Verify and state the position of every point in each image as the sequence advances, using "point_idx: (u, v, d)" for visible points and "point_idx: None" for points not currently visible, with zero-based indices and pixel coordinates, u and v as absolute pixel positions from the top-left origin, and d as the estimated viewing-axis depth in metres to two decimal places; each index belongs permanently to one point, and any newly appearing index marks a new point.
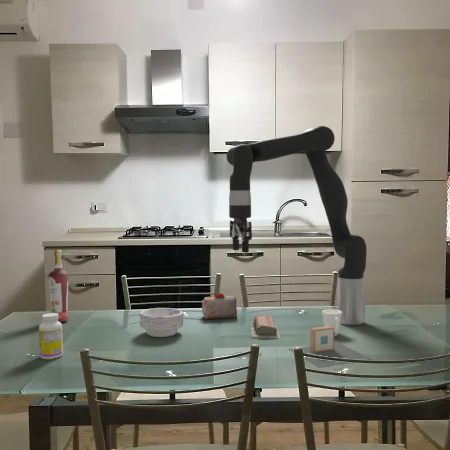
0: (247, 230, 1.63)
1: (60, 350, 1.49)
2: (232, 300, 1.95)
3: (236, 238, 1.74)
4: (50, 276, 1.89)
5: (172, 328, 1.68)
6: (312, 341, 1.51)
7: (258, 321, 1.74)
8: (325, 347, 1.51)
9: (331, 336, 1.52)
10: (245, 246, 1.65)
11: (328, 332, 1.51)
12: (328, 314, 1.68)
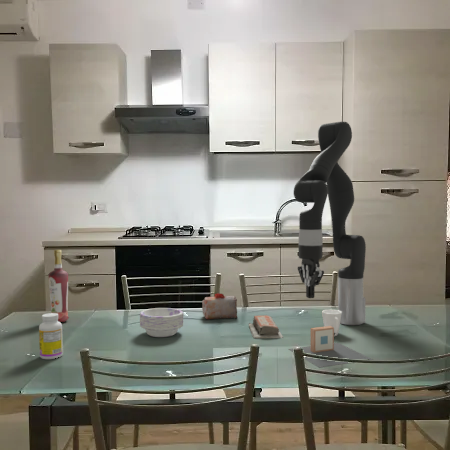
0: (317, 279, 1.53)
1: (60, 350, 1.49)
2: (232, 300, 1.95)
3: None
4: (50, 276, 1.89)
5: (172, 328, 1.68)
6: (312, 341, 1.51)
7: (259, 321, 1.73)
8: (325, 347, 1.51)
9: (331, 336, 1.52)
10: (311, 291, 1.56)
11: (328, 332, 1.51)
12: (328, 314, 1.68)
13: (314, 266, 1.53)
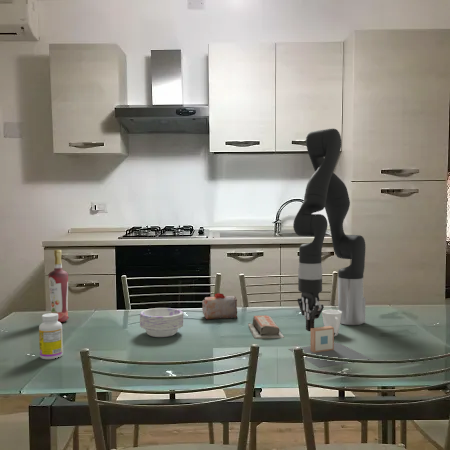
0: (316, 313, 1.54)
1: (60, 350, 1.49)
2: (232, 300, 1.95)
3: None
4: (50, 276, 1.89)
5: (172, 328, 1.68)
6: (312, 341, 1.51)
7: (259, 321, 1.73)
8: (325, 347, 1.51)
9: (331, 336, 1.52)
10: (311, 325, 1.57)
11: (328, 332, 1.51)
12: (328, 314, 1.68)
13: (314, 300, 1.54)
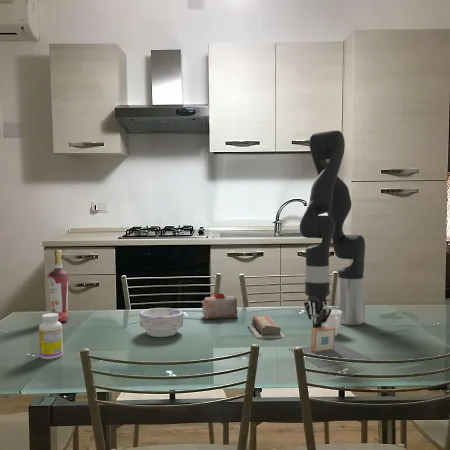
0: (324, 317, 1.50)
1: (60, 350, 1.49)
2: (232, 300, 1.95)
3: None
4: (50, 276, 1.89)
5: (172, 328, 1.68)
6: (313, 341, 1.50)
7: (260, 321, 1.73)
8: (326, 347, 1.51)
9: (332, 337, 1.51)
10: None
11: (329, 333, 1.51)
12: None
13: (321, 304, 1.50)
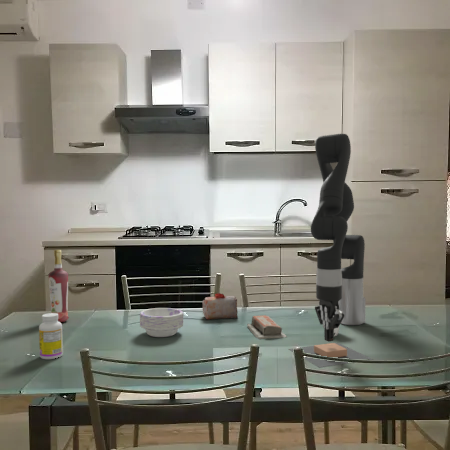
0: (336, 322, 1.44)
1: (60, 350, 1.49)
2: (233, 300, 1.95)
3: None
4: (50, 276, 1.89)
5: (172, 328, 1.68)
6: (319, 352, 1.47)
7: (261, 321, 1.73)
8: None
9: None
10: (330, 335, 1.47)
11: None
12: None
13: (333, 308, 1.44)
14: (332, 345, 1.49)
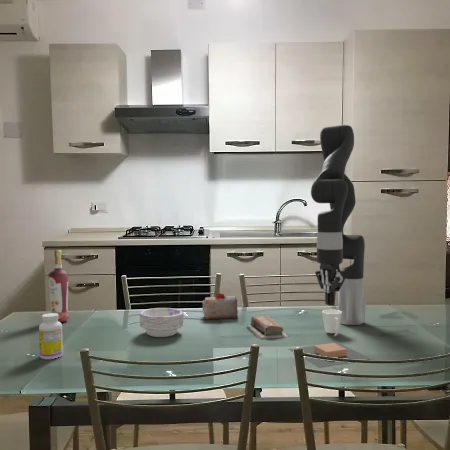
0: (337, 285, 1.43)
1: (60, 350, 1.49)
2: (233, 300, 1.95)
3: None
4: (50, 276, 1.89)
5: (172, 328, 1.68)
6: (319, 352, 1.47)
7: (261, 321, 1.73)
8: None
9: None
10: (331, 298, 1.46)
11: None
12: (328, 314, 1.68)
13: (334, 271, 1.43)
14: (332, 345, 1.49)
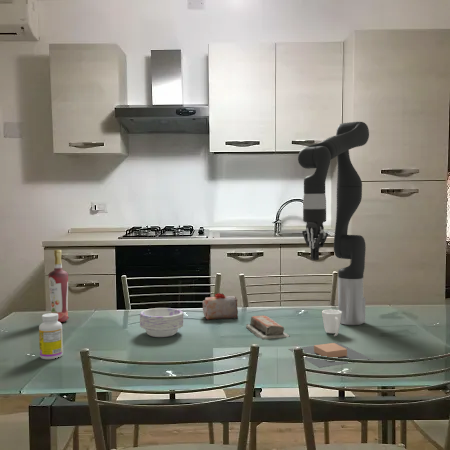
0: (321, 241, 1.60)
1: (60, 350, 1.49)
2: (233, 300, 1.95)
3: None
4: (50, 276, 1.89)
5: (172, 328, 1.68)
6: (319, 352, 1.47)
7: (262, 321, 1.73)
8: None
9: None
10: (316, 253, 1.63)
11: None
12: (328, 314, 1.68)
13: (318, 228, 1.60)
14: (332, 345, 1.49)
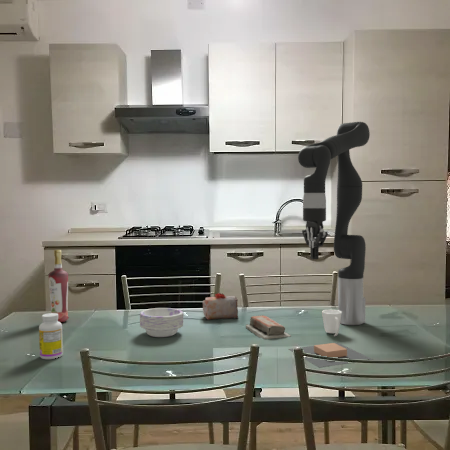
0: (321, 240, 1.60)
1: (60, 350, 1.49)
2: (233, 300, 1.95)
3: None
4: (50, 276, 1.89)
5: (172, 328, 1.68)
6: (319, 352, 1.47)
7: (262, 322, 1.73)
8: None
9: None
10: (315, 253, 1.63)
11: None
12: (328, 314, 1.68)
13: (318, 228, 1.60)
14: (332, 345, 1.49)
